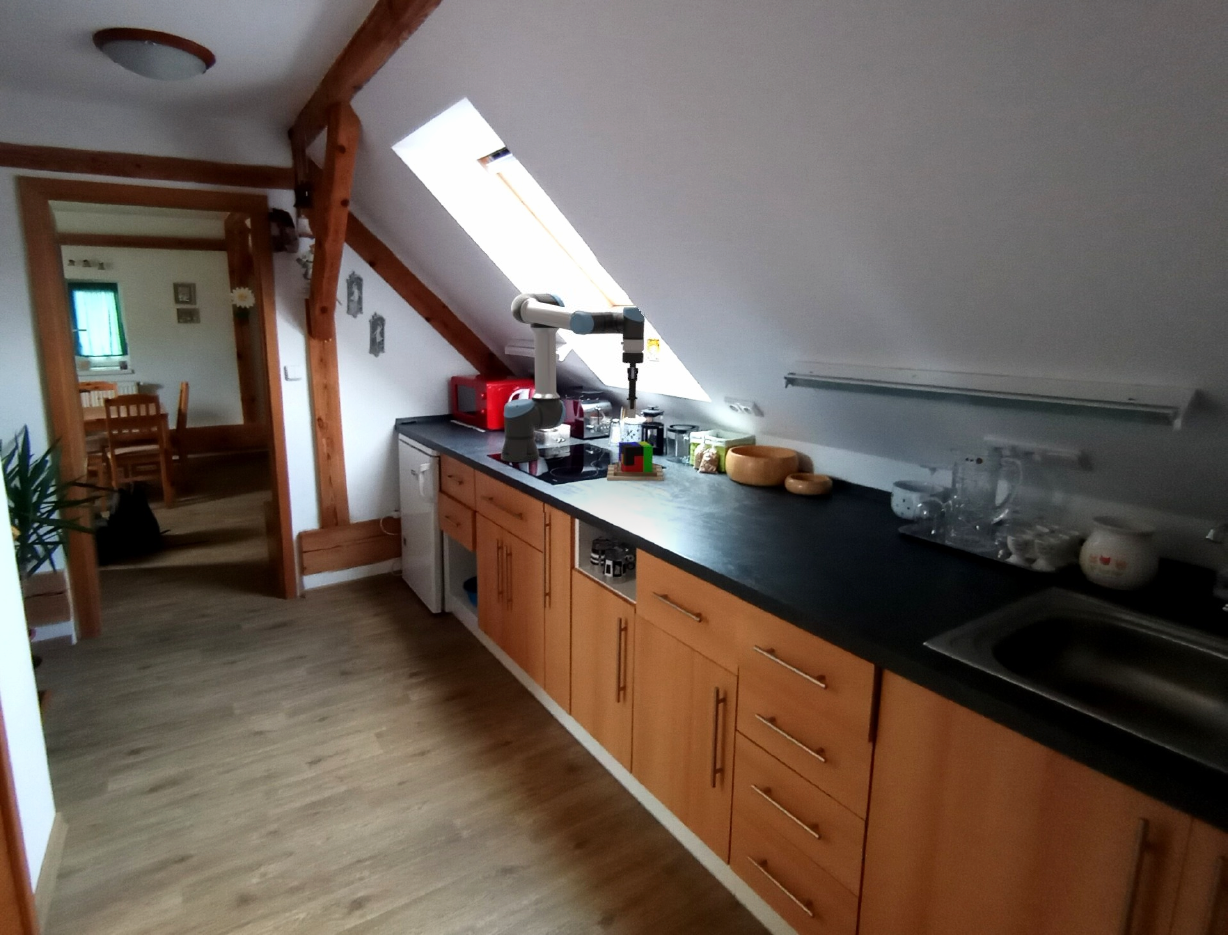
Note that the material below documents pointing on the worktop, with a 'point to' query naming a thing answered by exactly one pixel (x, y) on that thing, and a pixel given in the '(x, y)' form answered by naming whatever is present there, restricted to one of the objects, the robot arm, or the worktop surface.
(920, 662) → the worktop surface
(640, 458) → the puzzle toy
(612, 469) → the locating board
